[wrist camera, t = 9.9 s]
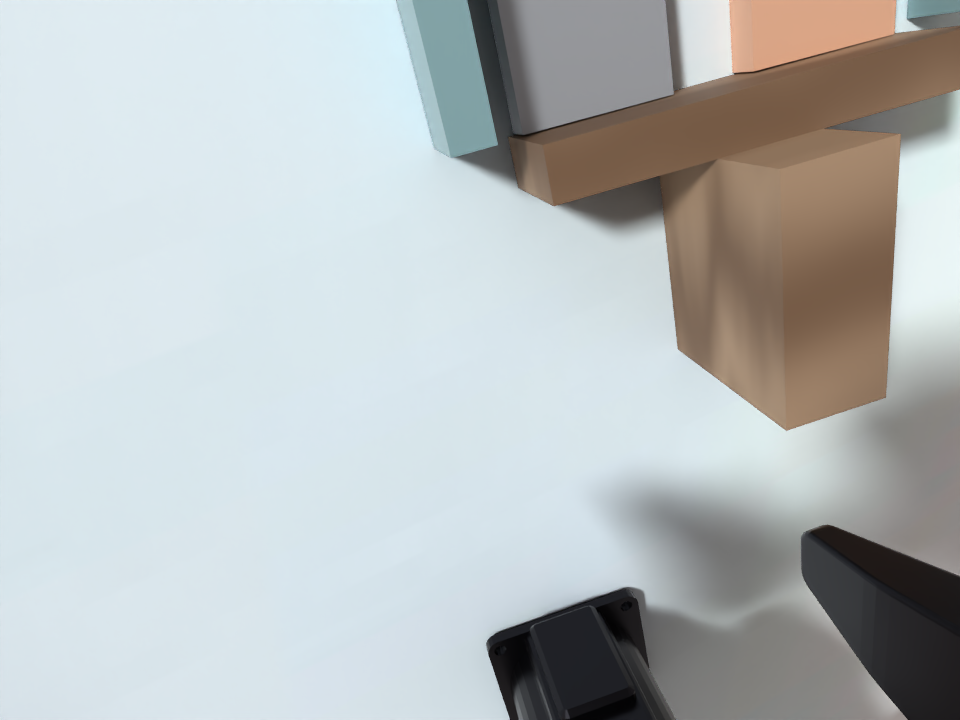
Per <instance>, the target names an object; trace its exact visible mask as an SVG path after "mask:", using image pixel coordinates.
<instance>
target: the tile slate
mask: <svg viewBox="0 0 960 720" xmlns="http://www.w3.org/2000/svg"><path fill="white" fill-rule="evenodd" d="M487 2H488V7H489V12H490V18H491V23H492V28H493V33H494V38H495V43H496V48H497V53H498V58H499V63H500V68H501V73H502V78H503V83H504V88H505V93H506V99H507V104H508V109H509V114H510V119H511V124H512V129H513V133H514V134H519V135H526V134H530V133H533V132H537V131H541V130H544V129H548V128H552V127H555V126H559V125H563V124H566V123H570V122H574V121H577V120H581V119H585V118H589V117H592V116H596V115H600V114H603V113H607V112H611V111H614V110H618V109H622V108H625V107H629V106H633V105H636V104H640V103H644V102H647V101H651V100H655V99H659V98H662V97H666V96H670V95H673V94H674V90H673V79H672V68H671V57H670V46H669V35H668V24H667V13H666V2H665V0H487Z"/></svg>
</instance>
